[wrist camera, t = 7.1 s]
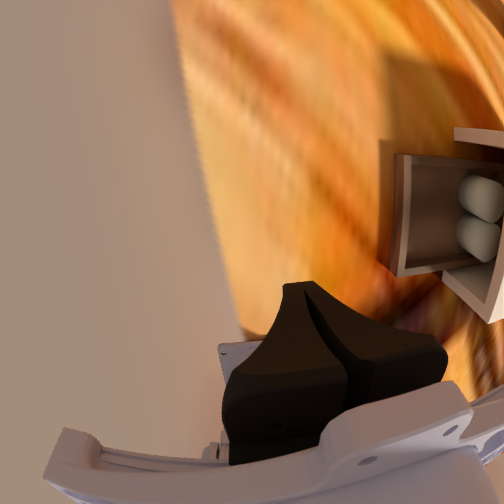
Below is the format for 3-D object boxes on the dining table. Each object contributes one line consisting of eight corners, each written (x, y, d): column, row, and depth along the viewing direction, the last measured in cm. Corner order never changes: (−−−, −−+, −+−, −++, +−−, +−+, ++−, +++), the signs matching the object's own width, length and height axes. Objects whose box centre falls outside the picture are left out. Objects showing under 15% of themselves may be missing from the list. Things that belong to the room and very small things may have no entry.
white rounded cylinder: (475, 246, 22) (496, 261, 19) (452, 248, 22) (474, 263, 19) (481, 213, 21) (504, 224, 17) (458, 211, 21) (482, 224, 17)
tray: (485, 251, 23) (497, 259, 21) (385, 266, 23) (396, 277, 21) (494, 162, 20) (508, 165, 18) (390, 153, 20) (403, 155, 18)
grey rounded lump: (481, 207, 21) (504, 219, 17) (457, 212, 21) (480, 226, 18) (481, 171, 19) (506, 180, 16) (457, 175, 19) (482, 184, 16)
